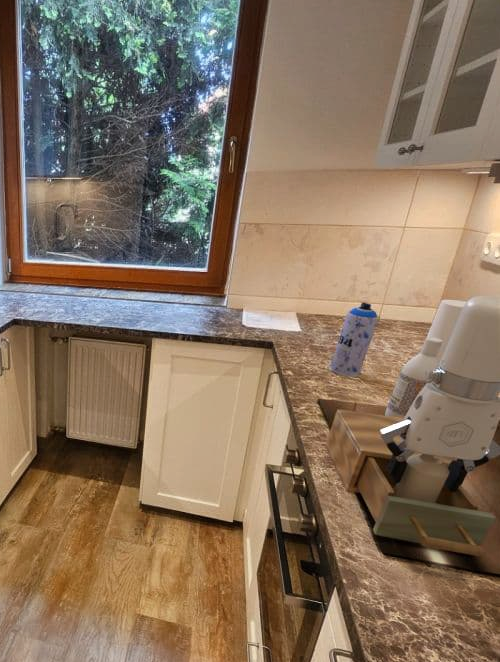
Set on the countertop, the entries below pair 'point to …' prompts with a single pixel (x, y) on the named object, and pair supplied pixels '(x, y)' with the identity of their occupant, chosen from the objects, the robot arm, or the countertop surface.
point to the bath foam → (413, 378)
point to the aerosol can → (354, 341)
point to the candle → (422, 479)
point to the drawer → (423, 513)
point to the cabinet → (360, 443)
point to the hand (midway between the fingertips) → (420, 481)
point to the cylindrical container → (445, 323)
